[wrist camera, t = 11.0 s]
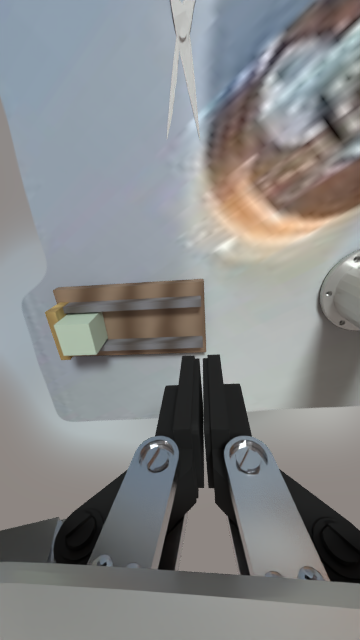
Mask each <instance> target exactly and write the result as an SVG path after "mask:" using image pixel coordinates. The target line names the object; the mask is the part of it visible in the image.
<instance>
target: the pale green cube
mask: <svg viewBox="0 0 360 640" xmlns="http://www.w3.org/2000/svg"><path fill="white" fill-rule="evenodd" d="M54 328H55V331H56V334H57V337H58V340H59V343H60V346H61V349H62V352H63V355H64V356H72V355H97V353H98V352H99V350H100V349H101V347H102V346H103V344H104V343H105V342H106V340H107V339H108V336H107V331H106V327H105V323H104V318H103V314H102V312H86V313H68V314H67V315H66V316H65V317H63V318H62V319H61V320H60V321H58V322H57V323H56V324H55V325H54Z"/></svg>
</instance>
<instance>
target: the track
mask: <svg viewBox="0 0 360 640" xmlns="http://www.w3.org/2000/svg"><path fill="white" fill-rule="evenodd" d="M53 293H54V296H55V299H56V302H57V305H55V306H54V307H52V308H51V309H49V310H48V311H46V312H45V314H46V317H47V320H48V323H49V326H50V329H51V332H52V335H53V338H54V340H55V343H56V346H57V349H58V352H59V355H60V358H61V360H71V358H72V357H73V356H102V355H132V354H163V353H193V352H206V334H205V305H204V280H203V279H194V280H177V281H160V282H143V283H126V284H109V285H92V286H76V287H59V288H56V289H55V290H53ZM86 312H102V314H103V318H104V323H105V327H106V331H107V336H108V339H107V340H106V342H105V343H104V344H103V346H102V347H101V349H100V350H99V352H98V353H97V355H72V356H64V355H63V352H62V349H61V346H60V343H59V340H58V337H57V334H56V331H55V328H54V325H55V324H56V323H57V322H58V321H60V320H61V319H62V318H63V317H65V316H66V315H67V314H68V313H86Z"/></svg>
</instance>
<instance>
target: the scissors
mask: <svg viewBox="0 0 360 640" xmlns="http://www.w3.org/2000/svg"><path fill="white" fill-rule="evenodd" d="M194 5H195V0H184V1H183V4H182V3H181V2H180V0H171V7H172V13H173V19H174V24H175V30H176V36H177V37H176V45H175V53H174V61H173V70H172V79H171V90H170V104H169V115H168V127H167V138H168V133H169V128H170V123H171V118H172V113H173V103H174V97H175V87H176V82H177V69H178V56H179V51H180V55H181V60H182V64H183V69H184V73H185V78H186V83H187V87H188V92H189V96H190V100H191V104H192V109H193V113H194V117H195V121H196V126H197V130H198V134H199V124H198V112H197V101H196V89H195V78H194V68H193V59H192V50H191V41H190V29H191V23H192V16H193V9H194ZM199 138H200V135H199Z"/></svg>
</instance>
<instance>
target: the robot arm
mask: <svg viewBox="0 0 360 640" xmlns="http://www.w3.org/2000/svg"><path fill="white" fill-rule="evenodd" d="M320 305H321V309H322V311H323V313H324V315H325V316H326V317H327V319H328V320H330V321H331V322H332V323H333V324H335V325H336V326H338V327H340V328H343V329H346V330H353V331H359V330H360V249H359V250H357V251H355V252H352V253H351V254H349V255H348V256H346V257H344V258H343V259H342V260H341V261H339V262H338V263H337V264H336V265H335V266H334V267H333V268H332V270H331V271H330V272H329V274H328V275H327V277H326V278H325V280H324V283H323V285H322V288H321V292H320ZM203 403H204V436H203ZM204 437H205V449H206V461H207V474H208V485H209V488H214V490H215V503H216V504H217V505H218V506H219V507H220V509H221V510H222V511H223V512H224V513H225V514H226V517H227V523H228V528H229V533H230V538H231V542H232V547H233V552H234V556H235V561H236V566H237V571H238V575H231V574H217V573H202V572H187V571H178V570H179V564H180V558H181V552H182V547H183V541H184V535H185V529H186V523H187V516H188V511H189V510H190V509H191V507H192V506H193V505H194V504H195V503H196V498H198V488H204V440H203V438H204ZM0 640H360V531H359V530H358V529H357V528H356V527H355V526H354V525H353V524H352V523H350V522H349V521H348V520H346V519H345V518H344V517H342V516H341V515H340V514H338V513H337V512H336V511H334V510H333V509H332V508H330V507H329V506H328V505H326V504H325V503H324V502H322V501H321V500H320V499H318V498H317V497H316V496H314V495H313V494H312V493H310V492H309V491H308V490H306V489H305V488H304V487H302V486H301V485H300V484H298V483H297V482H296V481H294V480H293V479H292V478H290V477H289V476H288V475H286V474H285V473H284V472H282V471H281V470H280V469H279V468H278V466H277V464H276V462H275V460H274V457H273V455H272V453H271V452H270V450H269V449H268V447H267V446H266V445H265V444H264V443H263V442H262V441H260V440H258V439H256V438H254V437H252V435H251V430H250V426H249V422H248V417H247V413H246V408H245V404H244V399H243V395H242V391H241V386H240V384H223V377H222V369H221V361H220V355H208V358H203V399H202V386H201V374H200V361H199V359H195V356H182V362H181V370H180V378H179V385H172V386H166V387H165V391H164V396H163V400H162V405H161V410H160V415H159V420H158V425H157V430H156V435H155V437H151V438H149V439H147V440H145V441H144V442H143V443H142V444H141V445H140V446H139V447H138V449H137V450H136V452H135V454H134V457H133V459H132V461H131V464H130V466H129V468H128V470H126V471H125V472H124V473H123V474H121V475H120V476H119V477H118V478H116V479H115V480H114V481H113V482H111V483H110V484H109V485H107V486H106V487H105V488H104V489H102V490H101V491H100V492H98V493H97V494H96V495H95V496H93V497H92V498H91V499H89V500H88V501H87V502H86V503H84V504H83V505H82V506H80V507H79V508H78V509H77V510H75V511H74V512H73V513H72V514H71V515H70V516H69V517H68V518H67V519H63V520H60V518H59V517H56V518H52V519H48V520H43V521H39V522H36V523H31V524H27V525H22V526H18V527H14V528H10V529H5V530H1V531H0Z"/></svg>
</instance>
